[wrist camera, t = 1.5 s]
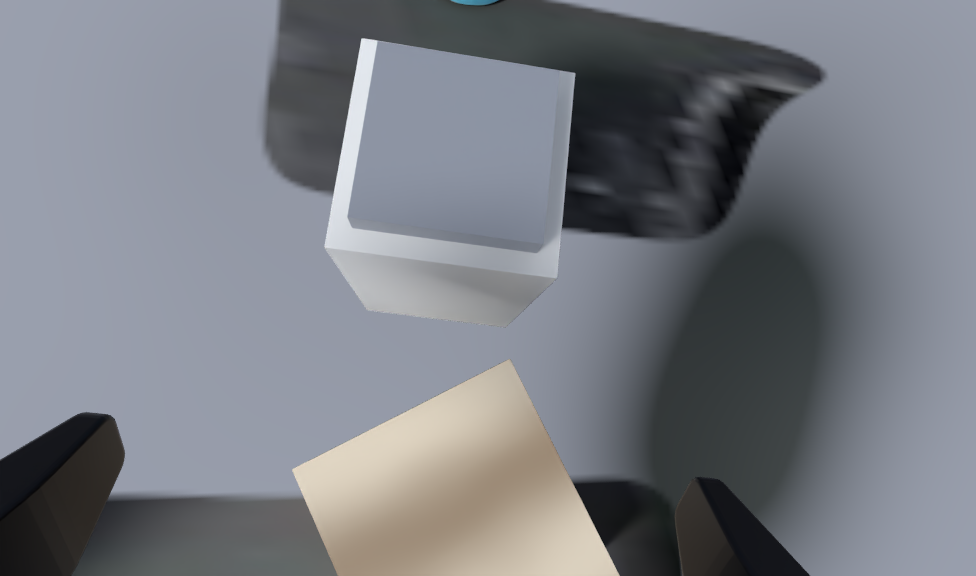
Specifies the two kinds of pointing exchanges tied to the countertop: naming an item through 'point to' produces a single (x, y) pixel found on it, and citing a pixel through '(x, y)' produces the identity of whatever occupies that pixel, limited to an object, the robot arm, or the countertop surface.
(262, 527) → the countertop surface
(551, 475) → the block
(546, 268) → the carton
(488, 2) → the blue plastic bottle
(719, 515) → the robot arm
